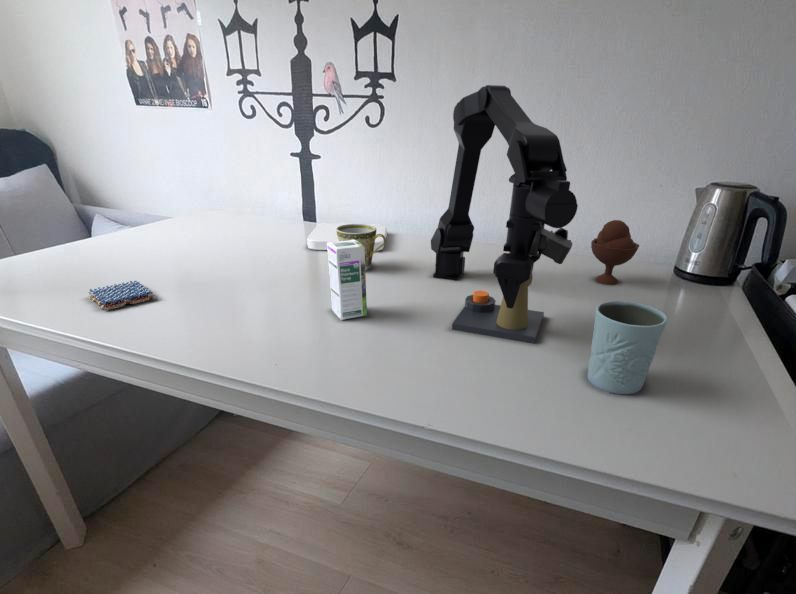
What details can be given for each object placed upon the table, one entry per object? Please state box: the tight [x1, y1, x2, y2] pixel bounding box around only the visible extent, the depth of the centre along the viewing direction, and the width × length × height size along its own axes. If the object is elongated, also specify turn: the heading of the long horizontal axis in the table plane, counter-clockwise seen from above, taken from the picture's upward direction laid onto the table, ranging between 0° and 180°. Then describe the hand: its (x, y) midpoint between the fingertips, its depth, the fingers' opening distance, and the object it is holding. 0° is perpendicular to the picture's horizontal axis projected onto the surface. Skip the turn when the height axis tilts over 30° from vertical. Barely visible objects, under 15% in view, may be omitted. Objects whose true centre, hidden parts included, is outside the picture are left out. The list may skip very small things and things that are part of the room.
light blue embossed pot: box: [587, 300, 668, 395], centre depth 76 cm, size 10×10×12 cm
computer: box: [306, 222, 388, 252], centre depth 147 cm, size 22×22×3 cm
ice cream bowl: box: [590, 219, 640, 286], centre depth 118 cm, size 11×11×15 cm
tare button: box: [472, 290, 490, 303], centre depth 101 cm, size 3×3×2 cm
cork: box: [497, 274, 533, 330], centre depth 92 cm, size 6×6×11 cm
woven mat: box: [88, 280, 156, 311], centre depth 103 cm, size 10×11×2 cm
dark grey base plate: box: [451, 294, 545, 345], centre depth 97 cm, size 16×14×3 cm
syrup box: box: [326, 239, 368, 321], centre depth 97 cm, size 6×6×14 cm
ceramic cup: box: [336, 223, 387, 272], centre depth 123 cm, size 13×10×10 cm
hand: (514, 299), depth 92 cm, fingers open, 9 cm apart
